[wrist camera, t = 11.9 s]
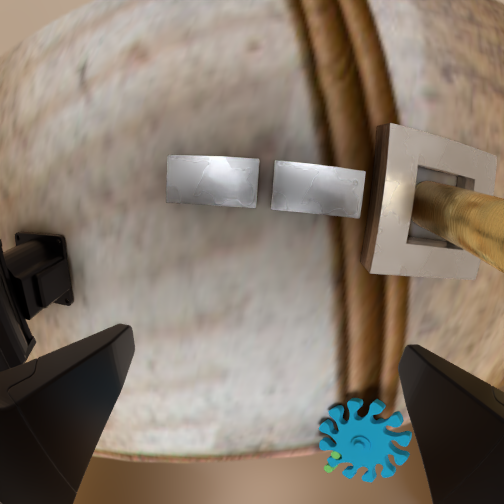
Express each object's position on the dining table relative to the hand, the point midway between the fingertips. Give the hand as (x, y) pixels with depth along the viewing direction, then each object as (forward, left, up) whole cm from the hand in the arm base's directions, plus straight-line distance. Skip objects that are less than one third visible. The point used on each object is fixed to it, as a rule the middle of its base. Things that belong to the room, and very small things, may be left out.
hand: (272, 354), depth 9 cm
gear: (+11, -18, -13) cm, 25 cm away
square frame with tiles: (+12, +4, -13) cm, 18 cm away
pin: (+12, +4, -13) cm, 18 cm away
